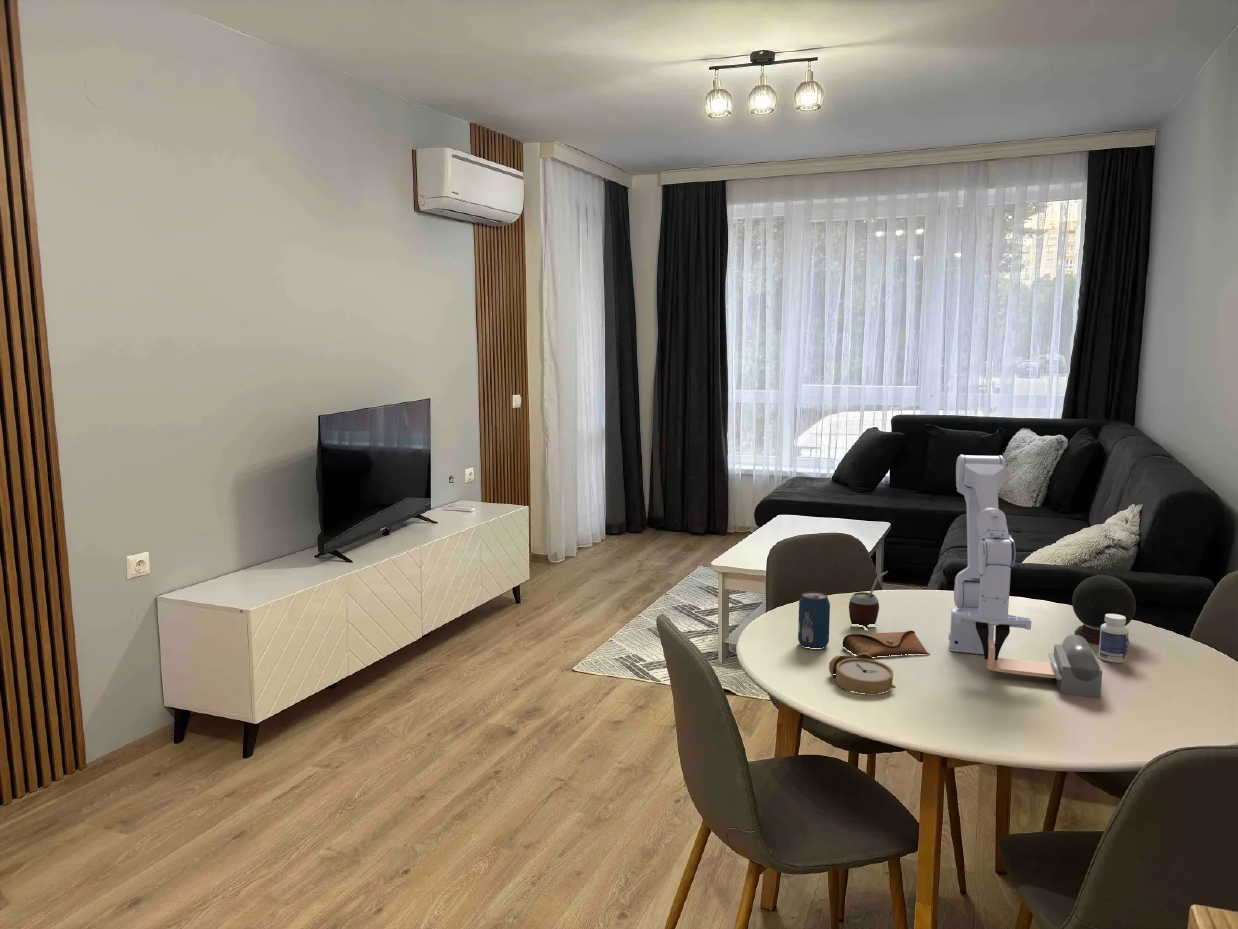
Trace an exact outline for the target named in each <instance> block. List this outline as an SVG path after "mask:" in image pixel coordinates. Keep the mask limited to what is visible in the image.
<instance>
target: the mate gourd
mask: <svg viewBox="0 0 1238 929" xmlns="http://www.w3.org/2000/svg"><path fill="white" fill-rule="evenodd" d="M887 573H889V571H888V570H886V571H884V572H882V573H880V574H879V575H877V577H875V578H874V581H873V585H872V587H871V589H870V592H863V591H861V592H860V591H859V592H855V593H853V594H852V596H851V597H850V599H849V602H848V612H849V619H850V623H851V624H859V625H863V626H865V627H866V628H868V627H867V625H869V624H875V625H876V622H877V619H878V617H879V616H878V615H879V611H880V603H879V599H878V597H877V596H876V595H875V594H874V593H873V592H874V590H875V587H876V585H877V584H878V582H879V579H880V578H882V576H884V575H885V574H887ZM851 624H850V625H851Z"/></svg>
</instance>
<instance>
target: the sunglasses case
mask: <svg viewBox="0 0 1238 929" xmlns="http://www.w3.org/2000/svg"><path fill="white" fill-rule="evenodd" d="M843 647H845V648H846V649H847V650H849V651H851V652H852V653H853V654H856V655H858V654H861V653H866V654H869V655H870V656H872V657H877V656H889V655H890V656H891V655H901V654H902V655H905V654H907V655H908V654H930V655H931V653H930V652H928V651H927V650H926V648H925V647H924V645H923V644H922V642H921V641H920V640H919V638H918V636H917V635H916V632H915V631H914V630H907V631H899V632H897V631H895V632H894V631H893V632H878V633H877V632H875V633H865V634H863V633H852V634H851V633H850V634H847V635H845V636H844V638H843V639H842V648H843Z"/></svg>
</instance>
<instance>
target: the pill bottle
mask: <svg viewBox="0 0 1238 929" xmlns="http://www.w3.org/2000/svg"><path fill="white" fill-rule="evenodd" d="M1105 622H1106V623H1104V624H1102V625H1101V628H1100V642H1099V645H1098V658H1100V659H1101V660H1102V661H1105V662H1108V663H1109V662H1110V663H1115V664H1117V663H1118V664H1120V663H1126V662H1127V655H1128V647H1129V646H1128V644H1129V641H1128V639H1129V629H1128V627H1127V625H1126V626H1124V625H1125V623H1126V617H1124V616H1122V615H1118V614H1106V615H1105Z"/></svg>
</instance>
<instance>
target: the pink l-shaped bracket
mask: <svg viewBox="0 0 1238 929" xmlns="http://www.w3.org/2000/svg"><path fill="white" fill-rule="evenodd" d="M986 666H987V667H986V668H987V670H989V671H990V670H991V671H993V672H999V673H1010V674H1018V675H1027V676H1036V677H1045V678H1047V677H1048V678H1054V679H1056V675H1055V672H1054V669H1053V667H1052V664H1051V662H1042V661H1034V660H1023V659H1016V658H1007V657H1006V658H1004V657H998V660H997V661H996V660H995V639H988V660H987V659H986Z"/></svg>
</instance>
